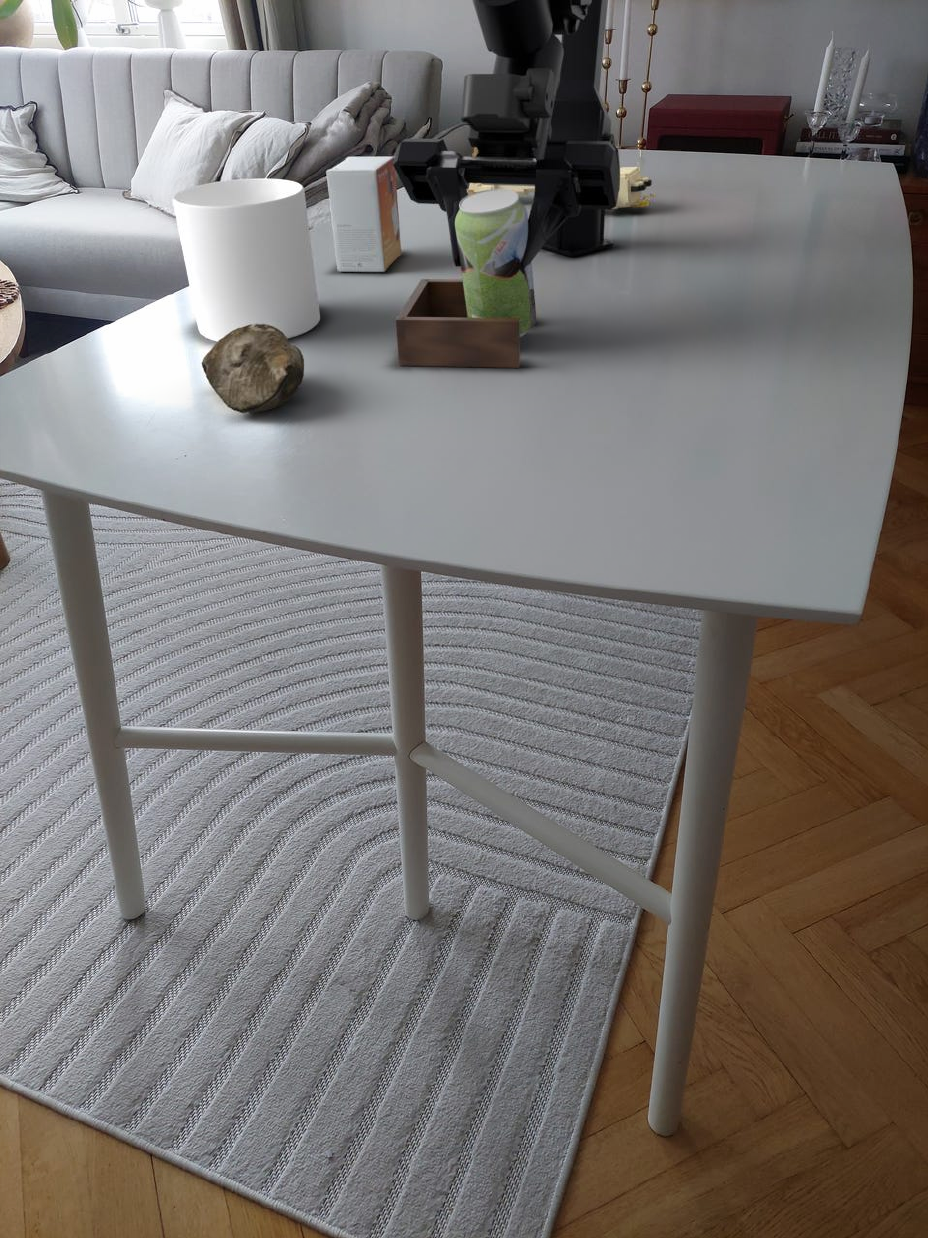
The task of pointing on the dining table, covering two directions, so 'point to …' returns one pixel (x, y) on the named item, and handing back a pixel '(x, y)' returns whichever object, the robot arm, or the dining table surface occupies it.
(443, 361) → the case
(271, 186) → the cup
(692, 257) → the dining table surface
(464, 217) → the beverage can
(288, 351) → the fossilized seashell
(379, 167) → the small box
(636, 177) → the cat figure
